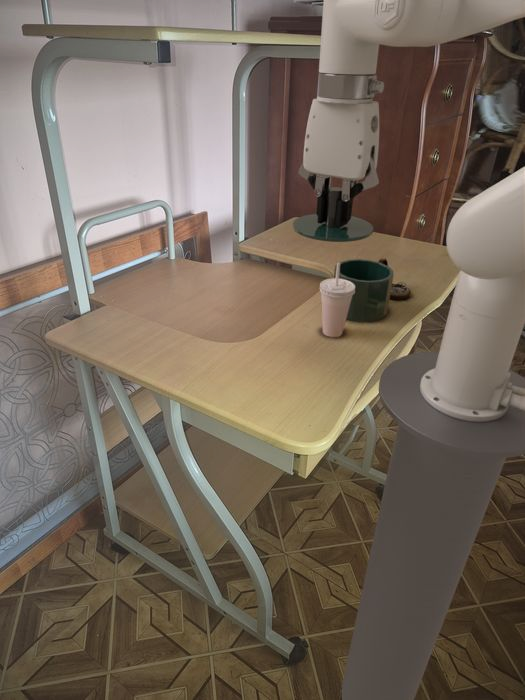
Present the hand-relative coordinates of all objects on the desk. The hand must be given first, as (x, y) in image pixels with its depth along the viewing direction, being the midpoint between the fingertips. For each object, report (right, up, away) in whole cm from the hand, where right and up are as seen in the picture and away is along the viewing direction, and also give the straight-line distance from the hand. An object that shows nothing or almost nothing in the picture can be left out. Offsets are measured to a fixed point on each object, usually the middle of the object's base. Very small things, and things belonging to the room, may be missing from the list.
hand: (332, 222), depth 77 cm
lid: (0, -1, +1) cm, 1 cm away
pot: (+9, -11, +26) cm, 30 cm away
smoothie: (+2, -16, +17) cm, 24 cm away
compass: (+18, -7, +33) cm, 38 cm away
